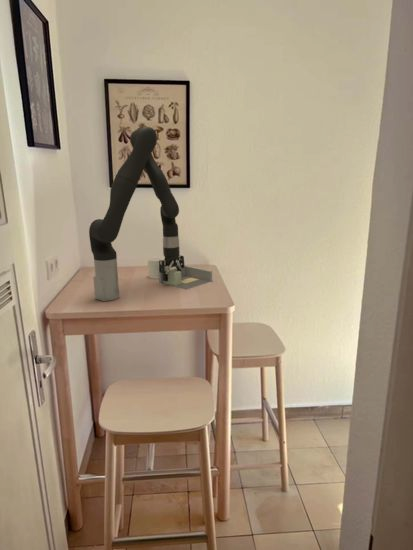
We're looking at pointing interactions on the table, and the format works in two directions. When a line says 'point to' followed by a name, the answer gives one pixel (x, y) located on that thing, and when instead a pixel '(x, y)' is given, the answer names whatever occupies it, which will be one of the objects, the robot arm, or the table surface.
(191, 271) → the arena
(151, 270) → the white cup
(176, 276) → the sage block
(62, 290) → the table surface
